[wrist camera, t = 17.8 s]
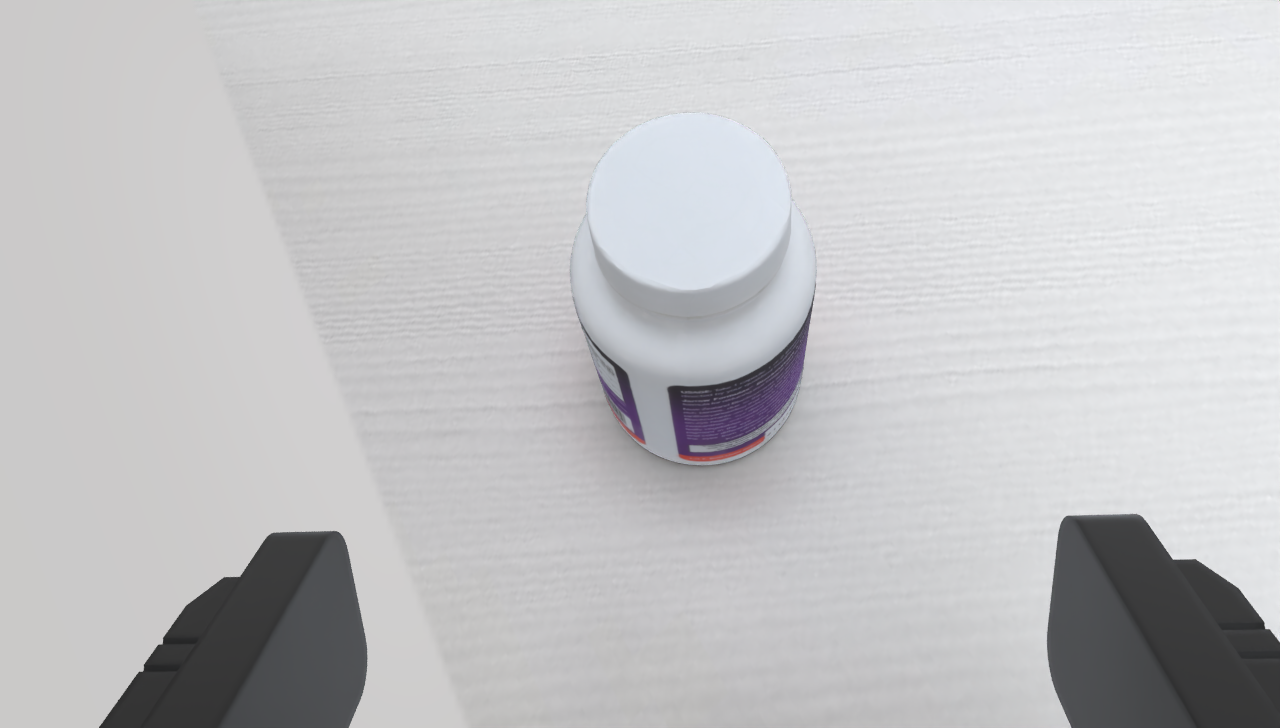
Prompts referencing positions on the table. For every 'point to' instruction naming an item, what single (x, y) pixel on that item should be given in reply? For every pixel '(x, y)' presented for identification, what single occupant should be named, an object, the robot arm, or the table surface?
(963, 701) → the table surface
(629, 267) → the pill bottle
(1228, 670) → the robot arm
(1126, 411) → the table surface
